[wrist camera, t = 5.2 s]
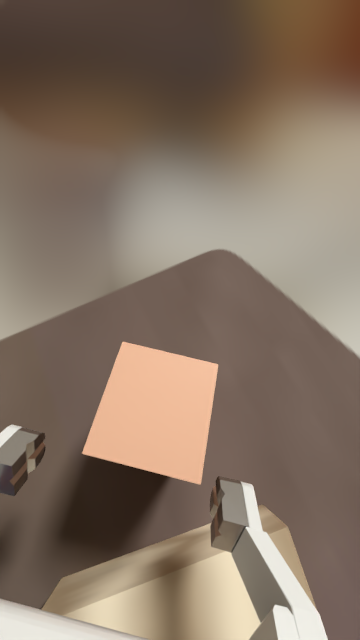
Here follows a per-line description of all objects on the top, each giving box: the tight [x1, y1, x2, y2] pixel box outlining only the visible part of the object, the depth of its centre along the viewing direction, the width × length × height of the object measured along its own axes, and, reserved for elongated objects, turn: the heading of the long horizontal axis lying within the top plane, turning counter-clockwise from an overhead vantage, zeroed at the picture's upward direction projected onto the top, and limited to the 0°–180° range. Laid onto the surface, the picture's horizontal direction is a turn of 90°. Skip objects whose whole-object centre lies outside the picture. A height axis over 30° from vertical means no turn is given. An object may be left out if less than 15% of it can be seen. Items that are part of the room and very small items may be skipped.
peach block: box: [82, 342, 218, 485], centre depth 14 cm, size 5×5×9 cm
